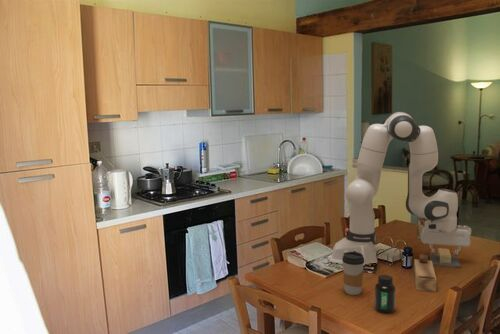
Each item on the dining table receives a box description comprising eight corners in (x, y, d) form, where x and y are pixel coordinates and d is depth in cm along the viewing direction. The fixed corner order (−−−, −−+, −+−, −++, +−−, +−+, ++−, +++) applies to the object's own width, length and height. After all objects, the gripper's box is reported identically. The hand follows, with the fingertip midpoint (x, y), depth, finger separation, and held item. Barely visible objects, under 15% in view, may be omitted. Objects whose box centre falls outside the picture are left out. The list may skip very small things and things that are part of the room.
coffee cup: (347, 285, 171) (348, 249, 168) (367, 290, 166) (368, 254, 163) (338, 292, 164) (338, 256, 162) (358, 298, 159) (358, 260, 157)
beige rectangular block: (439, 263, 189) (440, 254, 188) (437, 256, 197) (438, 248, 197) (450, 264, 188) (451, 255, 187) (448, 257, 196) (448, 248, 195)
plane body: (416, 289, 165) (417, 270, 164) (413, 270, 184) (414, 252, 183) (435, 292, 163) (436, 272, 162) (431, 271, 182) (432, 254, 180)
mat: (431, 265, 189) (431, 263, 189) (428, 255, 200) (428, 254, 200) (460, 267, 185) (460, 266, 185) (456, 257, 196) (456, 256, 196)
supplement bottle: (386, 315, 146) (387, 283, 144) (370, 308, 152) (371, 276, 150) (398, 309, 150) (399, 277, 148) (382, 302, 156) (383, 271, 154)
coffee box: (438, 241, 219) (439, 211, 216) (428, 243, 217) (429, 212, 215) (426, 236, 228) (427, 207, 225) (416, 237, 226) (417, 208, 223)
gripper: (470, 224, 190) (468, 253, 192) (421, 221, 196) (420, 249, 198) (472, 228, 184) (471, 258, 186) (422, 224, 190) (421, 254, 192)
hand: (444, 253), depth 192 cm, fingers open, 8 cm apart
